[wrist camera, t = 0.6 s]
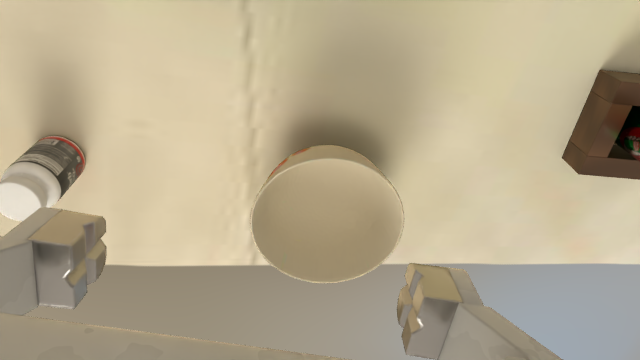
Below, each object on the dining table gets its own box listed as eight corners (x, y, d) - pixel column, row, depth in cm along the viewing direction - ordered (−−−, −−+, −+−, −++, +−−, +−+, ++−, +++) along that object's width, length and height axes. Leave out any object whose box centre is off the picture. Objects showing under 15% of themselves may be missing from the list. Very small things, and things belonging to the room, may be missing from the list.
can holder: (599, 69, 50) (621, 81, 47) (692, 79, 51) (720, 91, 47) (561, 157, 56) (578, 174, 52) (646, 165, 56) (668, 182, 53)
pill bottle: (74, 185, 56) (33, 235, 47) (28, 160, 54) (-24, 207, 45) (95, 152, 53) (55, 198, 45) (47, 124, 51) (-4, 167, 43)
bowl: (369, 98, 51) (381, 137, 42) (402, 209, 59) (419, 261, 50) (237, 142, 53) (224, 187, 45) (286, 243, 61) (283, 298, 53)
